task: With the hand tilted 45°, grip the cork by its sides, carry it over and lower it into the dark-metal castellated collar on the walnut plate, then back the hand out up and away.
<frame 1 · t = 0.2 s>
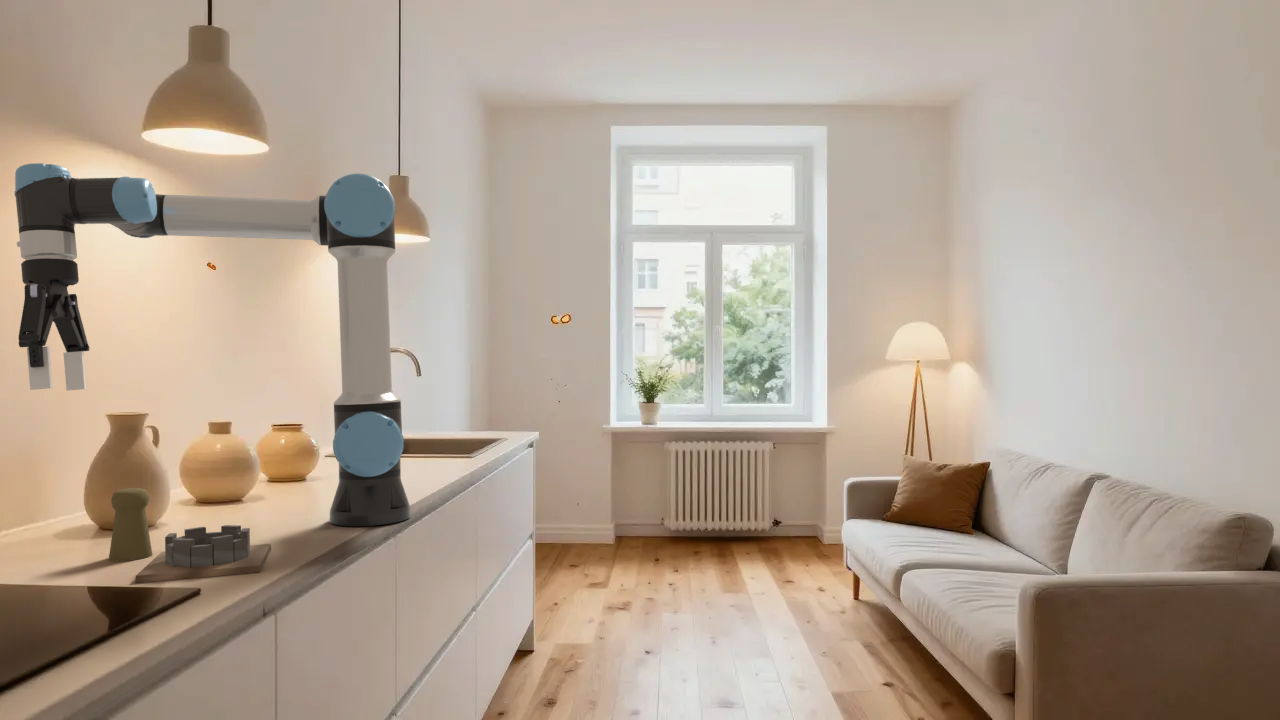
hand: (59, 389, 134), 27 cm above the table, tool pointing down, fingers open, 13 cm apart
collar: (208, 564, 126), on the table
cork: (130, 558, 132), on the table
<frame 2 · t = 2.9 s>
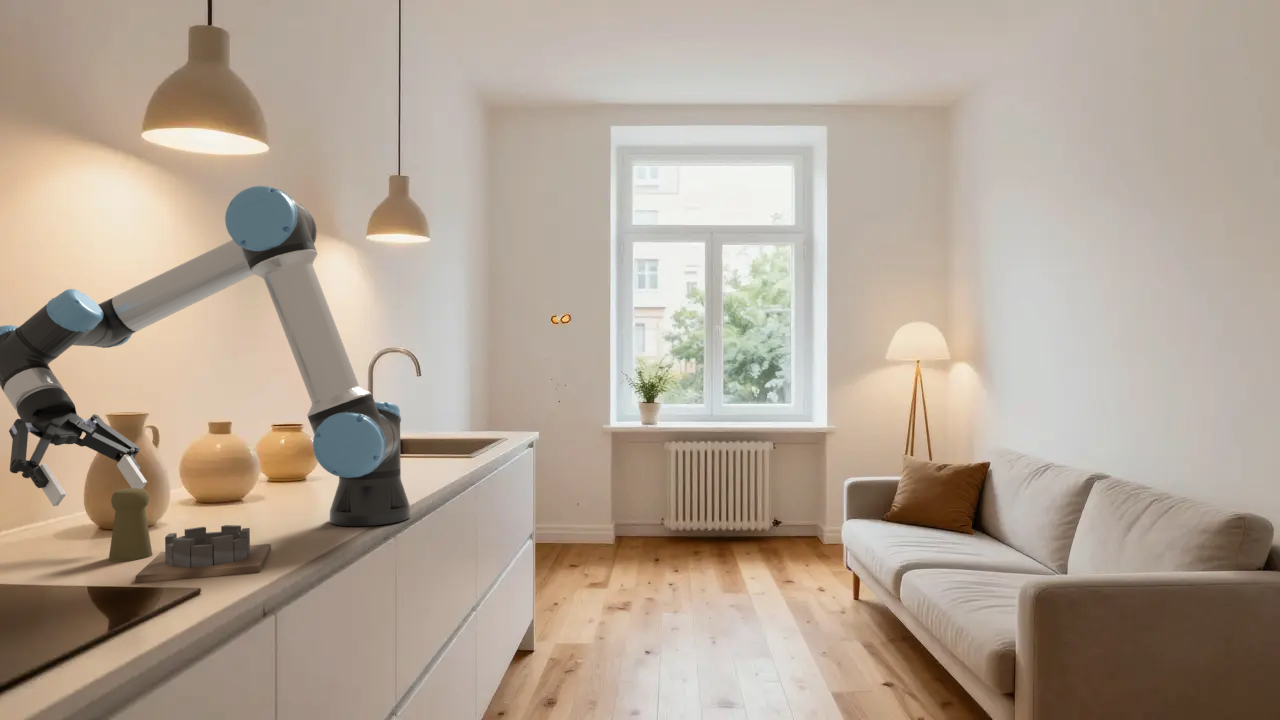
hand: (102, 493, 134), 10 cm above the table, tool tilted 45°, fingers open, 13 cm apart
nothing on the table moved.
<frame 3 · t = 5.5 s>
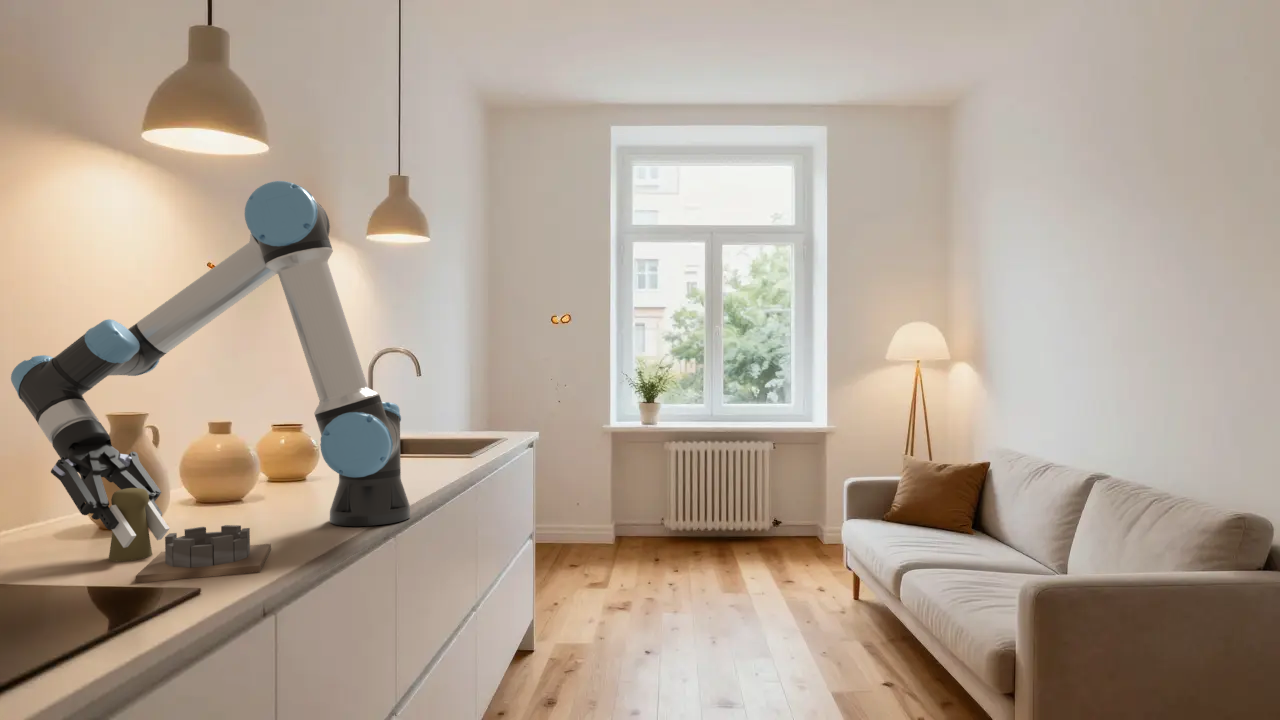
hand: (146, 537, 131), 3 cm above the table, tool tilted 45°, fingers closed on cork, 5 cm apart
cork: (130, 558, 132), on the table, touching gripper
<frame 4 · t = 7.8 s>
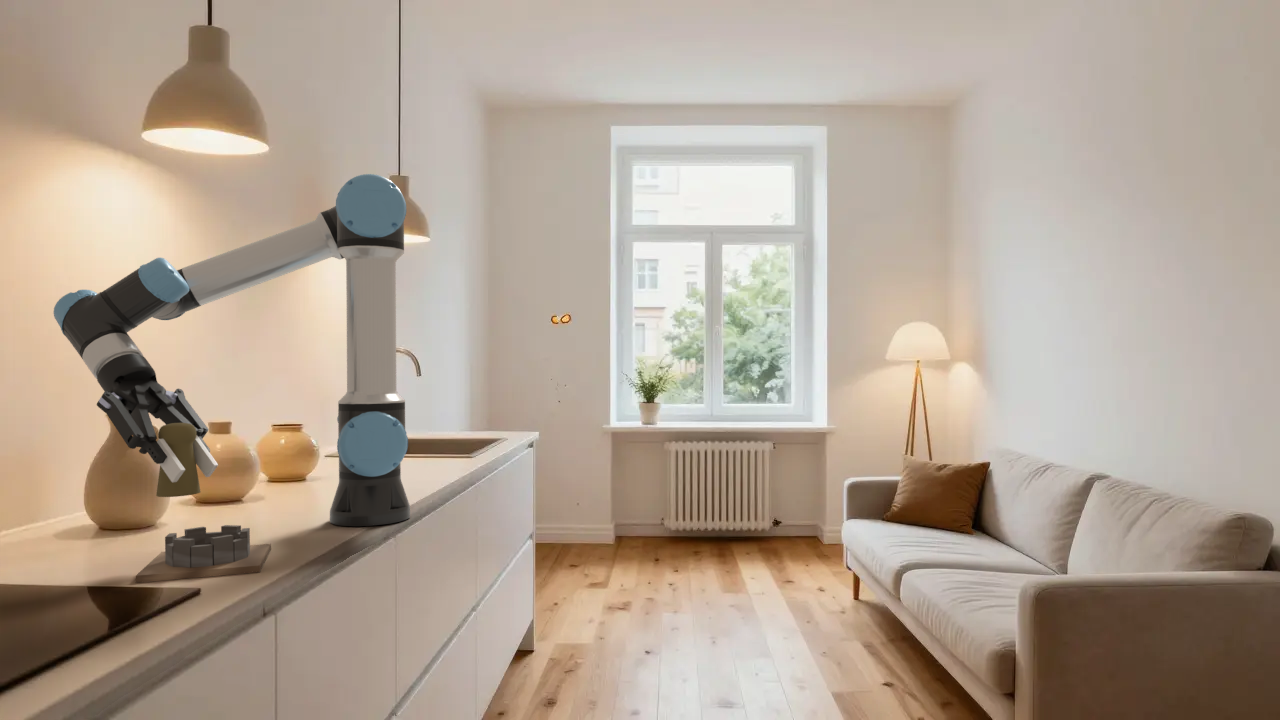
hand: (195, 473, 126), 14 cm above the table, tool tilted 45°, fingers closed on cork, 5 cm apart
cork: (178, 495, 127), point 11 cm above the table, touching gripper
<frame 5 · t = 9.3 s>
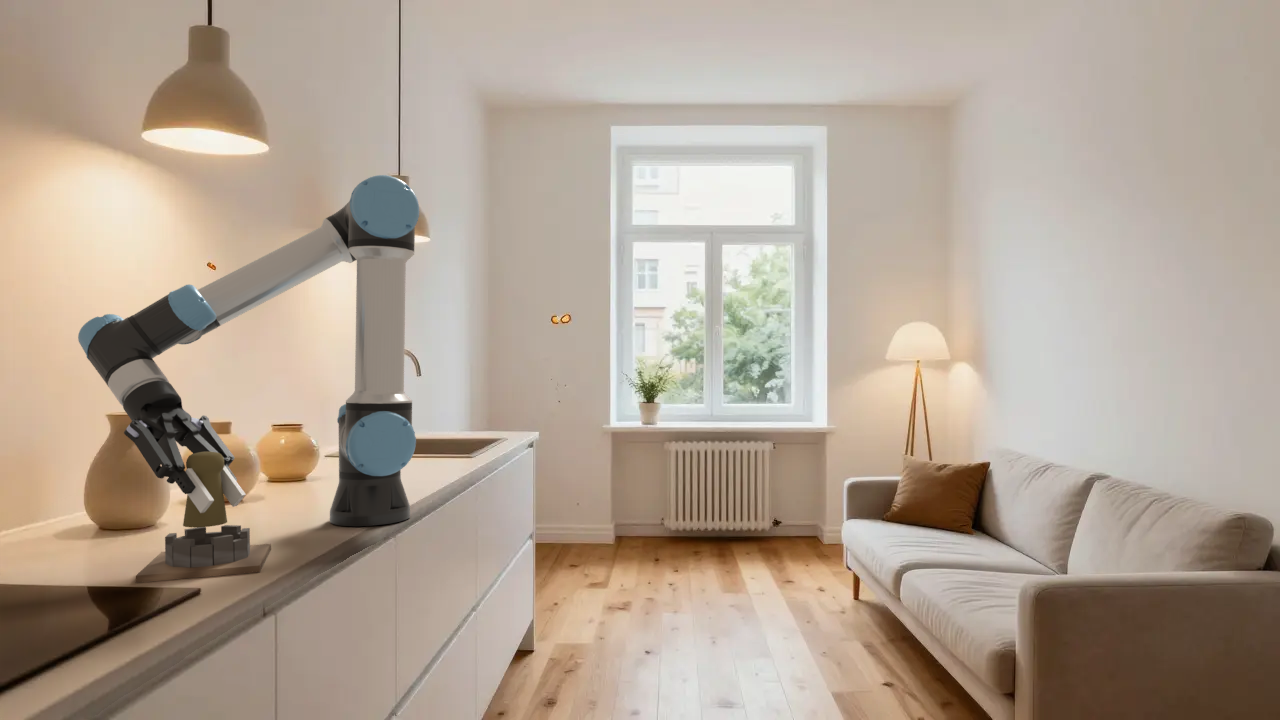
hand: (223, 503, 124), 10 cm above the table, tool tilted 45°, fingers closed on cork, 5 cm apart
cork: (205, 524, 126), point 6 cm above the table, touching gripper
when the fingers open (6 cm above the table, at t = 10.4 s): cork drops 2 cm, resting on collar.
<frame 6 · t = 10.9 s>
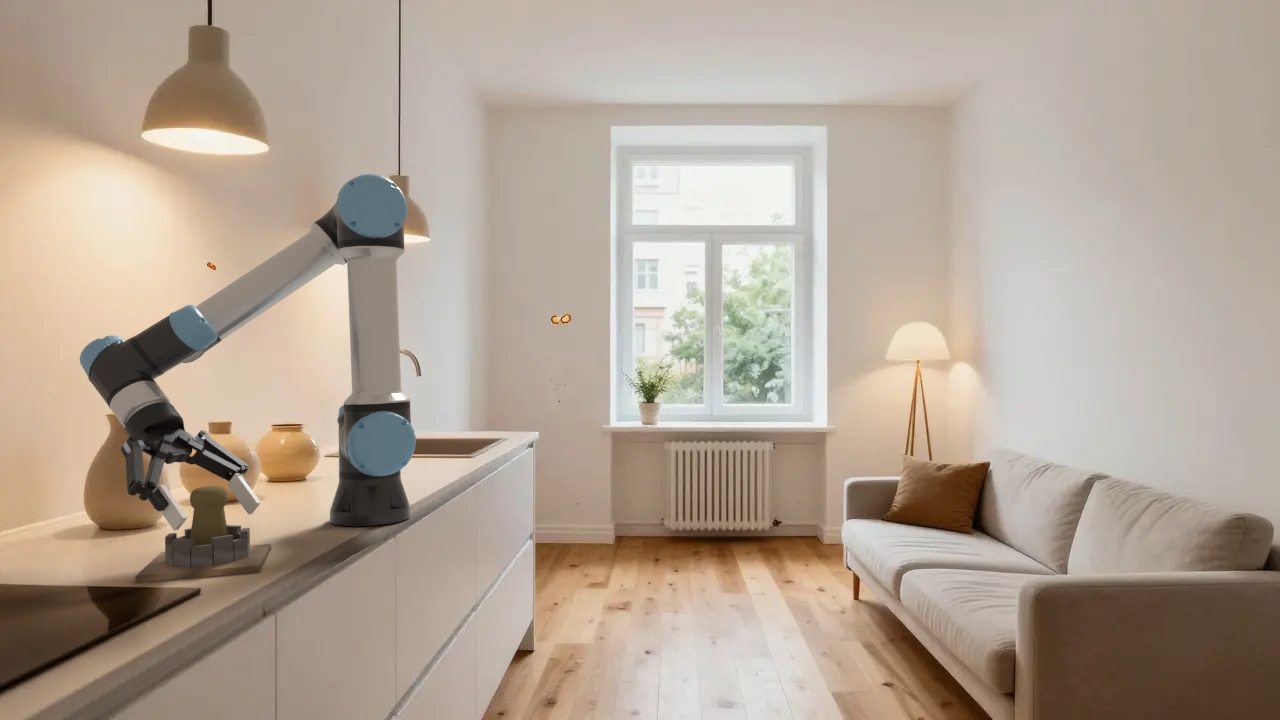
hand: (219, 516, 125), 8 cm above the table, tool tilted 45°, fingers open, 13 cm apart
cork: (209, 559, 126), point 1 cm above the table, touching collar
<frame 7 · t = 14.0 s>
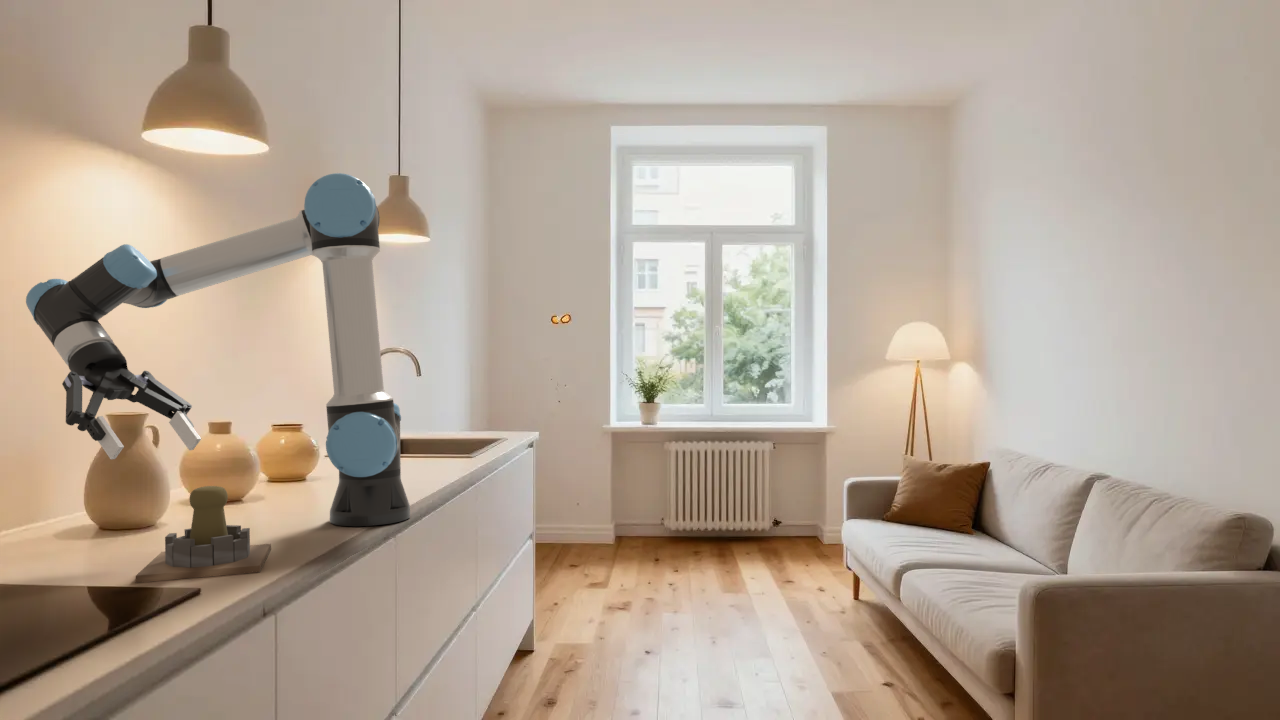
hand: (158, 448, 130), 18 cm above the table, tool tilted 45°, fingers open, 13 cm apart
nothing on the table moved.
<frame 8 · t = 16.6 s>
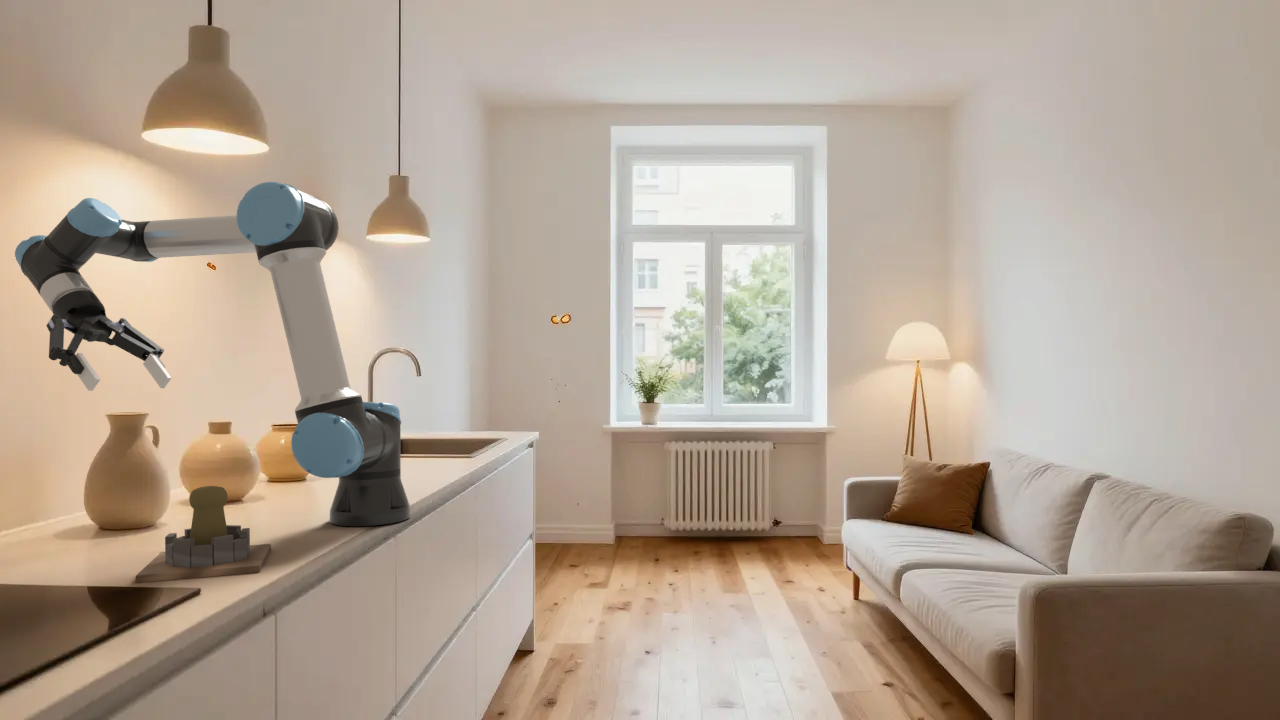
hand: (132, 384, 146), 28 cm above the table, tool tilted 45°, fingers open, 13 cm apart
nothing on the table moved.
at the end: cork 0.1 cm off-centre on the collar, point 0.8 cm above the collar's base; cork tilted 0°; the gripper is holding nothing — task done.
